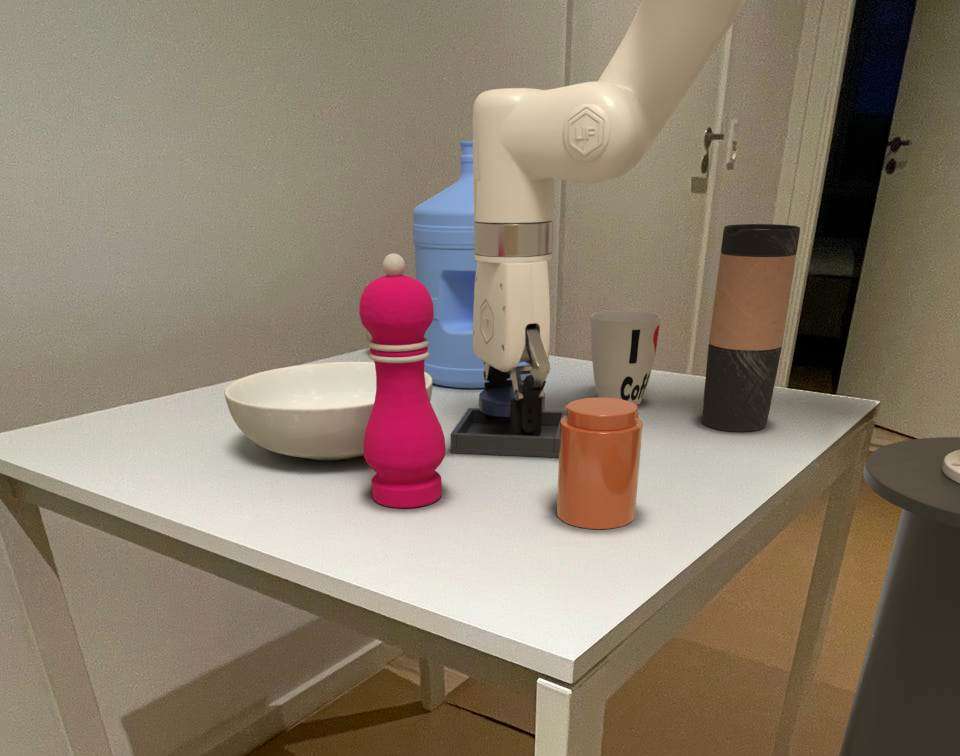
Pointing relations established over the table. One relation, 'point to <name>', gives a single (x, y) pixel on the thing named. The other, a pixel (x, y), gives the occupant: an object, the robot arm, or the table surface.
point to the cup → (623, 352)
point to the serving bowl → (308, 408)
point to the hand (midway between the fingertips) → (511, 426)
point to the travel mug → (748, 324)
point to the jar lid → (499, 401)
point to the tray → (505, 436)
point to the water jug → (450, 279)
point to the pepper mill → (401, 391)
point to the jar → (599, 463)
